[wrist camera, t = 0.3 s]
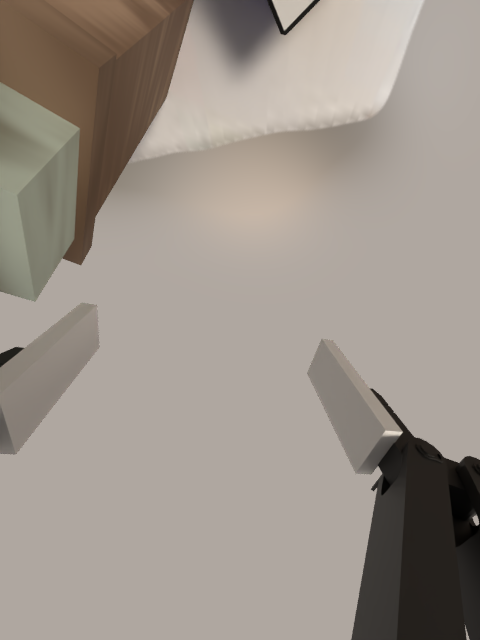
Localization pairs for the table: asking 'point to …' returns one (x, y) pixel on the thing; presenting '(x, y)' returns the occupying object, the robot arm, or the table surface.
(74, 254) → the stand
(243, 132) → the table surface
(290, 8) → the puzzle cube
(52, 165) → the mallet
